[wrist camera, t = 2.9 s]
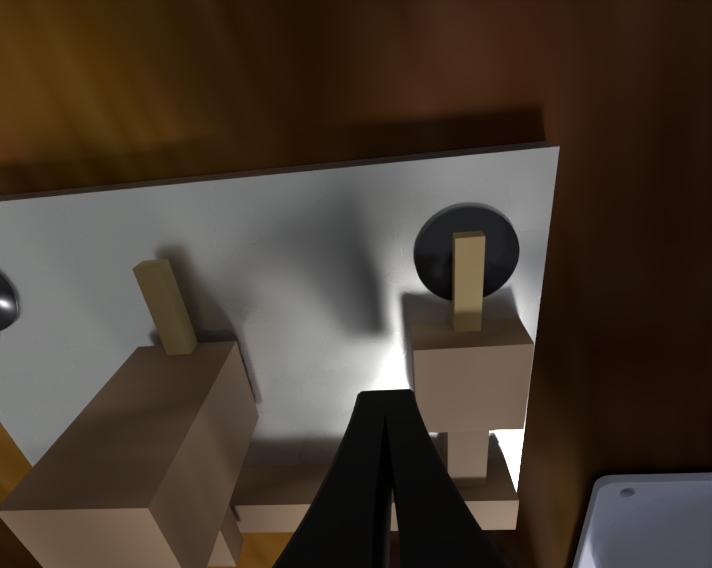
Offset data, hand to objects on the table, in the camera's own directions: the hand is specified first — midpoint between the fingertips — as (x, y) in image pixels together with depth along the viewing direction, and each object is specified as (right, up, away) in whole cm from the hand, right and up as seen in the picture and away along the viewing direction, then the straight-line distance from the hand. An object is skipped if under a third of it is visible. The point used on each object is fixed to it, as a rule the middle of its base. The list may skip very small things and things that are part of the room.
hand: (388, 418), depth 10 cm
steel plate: (-5, +1, +3) cm, 6 cm away
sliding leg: (-6, 0, +2) cm, 6 cm away
